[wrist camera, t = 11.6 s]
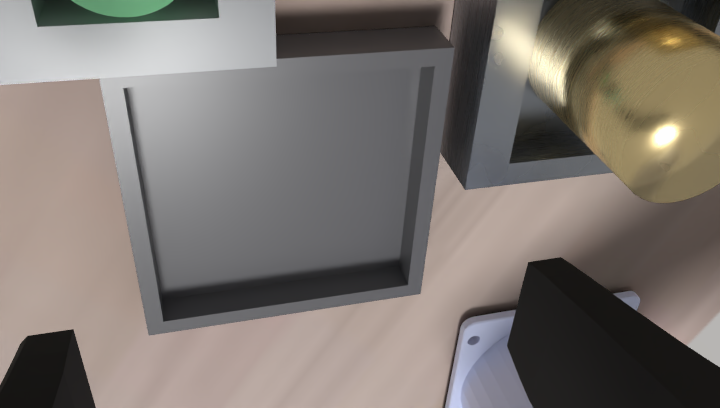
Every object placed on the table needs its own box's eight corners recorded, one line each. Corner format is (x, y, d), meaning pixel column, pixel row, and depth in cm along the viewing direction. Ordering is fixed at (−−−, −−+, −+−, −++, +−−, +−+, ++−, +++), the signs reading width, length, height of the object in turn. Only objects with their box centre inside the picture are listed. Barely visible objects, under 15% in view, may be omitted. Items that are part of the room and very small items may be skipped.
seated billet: (631, 102, 22) (739, 193, 18) (515, 114, 21) (603, 212, 17) (670, -25, 19) (805, 48, 15) (542, -18, 18) (651, 60, 14)
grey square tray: (407, 265, 25) (420, 294, 23) (147, 302, 22) (148, 335, 21) (435, 25, 19) (454, 47, 18) (100, 44, 17) (97, 70, 16)
